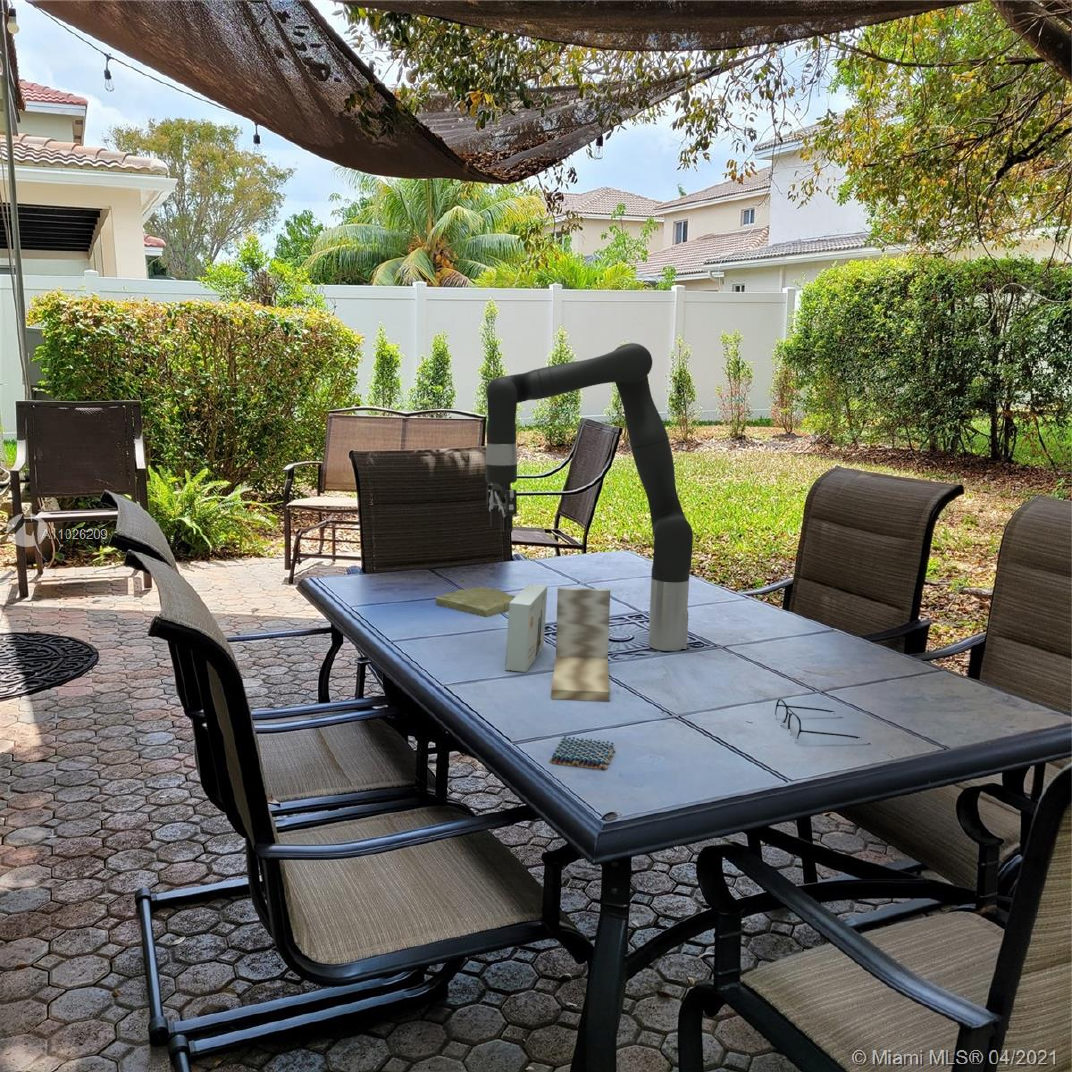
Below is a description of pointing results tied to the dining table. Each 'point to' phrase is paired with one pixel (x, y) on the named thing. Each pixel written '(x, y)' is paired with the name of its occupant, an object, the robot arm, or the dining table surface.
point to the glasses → (800, 721)
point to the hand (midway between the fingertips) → (501, 529)
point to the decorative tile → (477, 601)
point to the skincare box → (526, 627)
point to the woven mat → (583, 753)
